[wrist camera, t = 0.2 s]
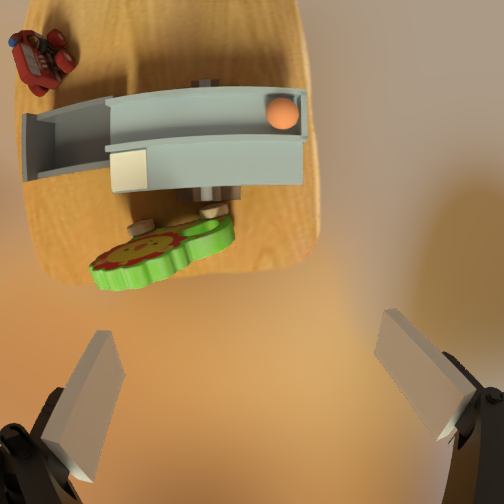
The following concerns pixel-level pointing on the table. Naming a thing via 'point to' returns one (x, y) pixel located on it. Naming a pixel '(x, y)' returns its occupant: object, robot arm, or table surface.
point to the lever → (204, 139)
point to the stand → (217, 191)
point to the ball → (282, 113)
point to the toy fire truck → (40, 59)
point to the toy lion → (162, 249)
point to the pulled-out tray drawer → (66, 140)
